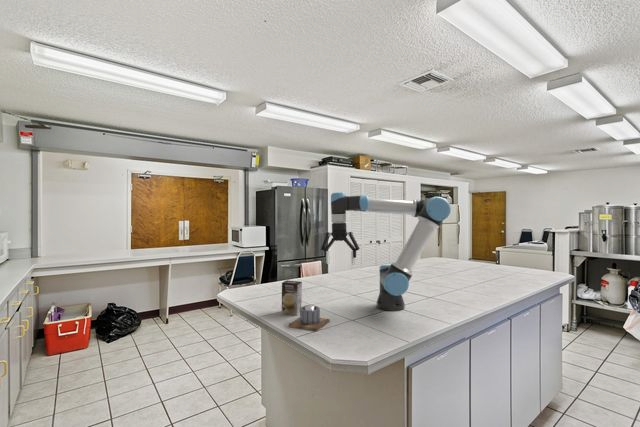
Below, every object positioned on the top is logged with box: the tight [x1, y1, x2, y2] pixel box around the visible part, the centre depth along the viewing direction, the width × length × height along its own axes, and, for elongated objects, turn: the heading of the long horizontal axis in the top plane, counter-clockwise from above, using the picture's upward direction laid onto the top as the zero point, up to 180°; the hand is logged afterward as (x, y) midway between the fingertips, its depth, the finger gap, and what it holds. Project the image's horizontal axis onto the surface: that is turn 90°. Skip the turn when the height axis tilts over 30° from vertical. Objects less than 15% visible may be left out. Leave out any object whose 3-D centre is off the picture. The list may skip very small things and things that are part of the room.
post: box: [304, 304, 315, 311], centre depth 144 cm, size 4×4×7 cm
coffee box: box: [281, 279, 303, 316], centre depth 161 cm, size 9×6×16 cm
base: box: [288, 316, 330, 332], centre depth 144 cm, size 14×14×1 cm
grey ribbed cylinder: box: [299, 305, 321, 325], centre depth 144 cm, size 9×9×6 cm
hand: (340, 264), depth 160 cm, fingers open, 13 cm apart
